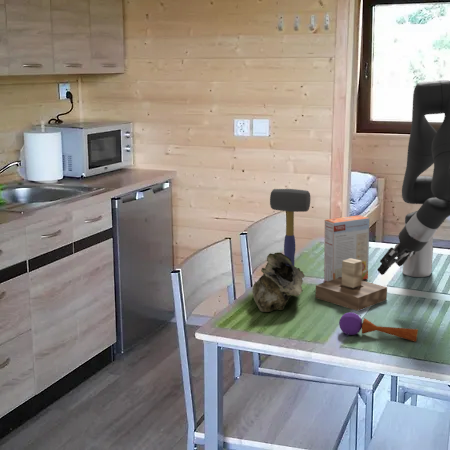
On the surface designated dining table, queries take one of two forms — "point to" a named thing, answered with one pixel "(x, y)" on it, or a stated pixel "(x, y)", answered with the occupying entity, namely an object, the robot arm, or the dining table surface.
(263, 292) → the hollow geode rock
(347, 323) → the kendama
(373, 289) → the seat board
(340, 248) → the cracker box
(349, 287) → the beech leg
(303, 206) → the rubber mallet
